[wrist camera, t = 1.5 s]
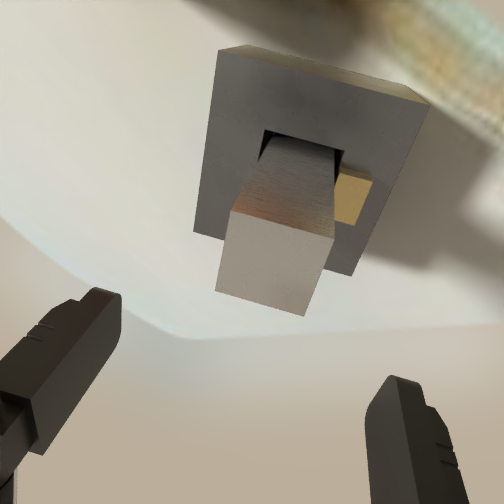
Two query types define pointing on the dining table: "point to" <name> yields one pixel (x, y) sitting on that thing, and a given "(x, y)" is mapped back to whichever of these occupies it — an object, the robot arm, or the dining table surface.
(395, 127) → the base
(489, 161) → the dining table surface
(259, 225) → the column
